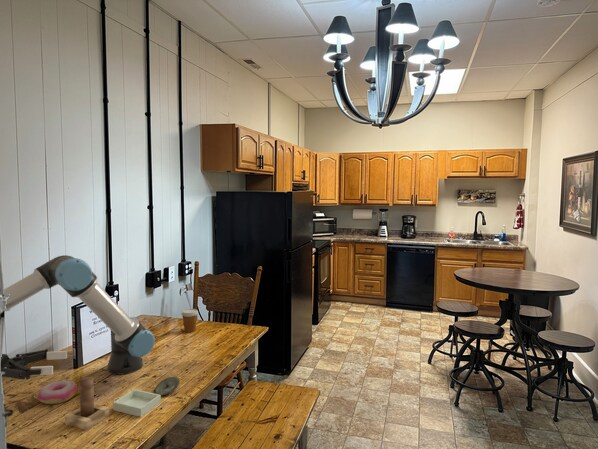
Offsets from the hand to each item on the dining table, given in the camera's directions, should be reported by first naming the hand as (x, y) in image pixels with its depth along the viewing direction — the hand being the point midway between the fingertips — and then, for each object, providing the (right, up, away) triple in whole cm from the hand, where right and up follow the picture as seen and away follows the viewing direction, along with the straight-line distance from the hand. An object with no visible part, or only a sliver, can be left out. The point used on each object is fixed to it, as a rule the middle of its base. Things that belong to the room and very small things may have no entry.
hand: (60, 362), depth 146 cm
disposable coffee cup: (+20, -15, +99) cm, 102 cm away
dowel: (+8, -22, +3) cm, 24 cm away
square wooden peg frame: (+8, -22, +3) cm, 24 cm away
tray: (+22, -21, +13) cm, 33 cm away
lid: (+30, -21, +26) cm, 44 cm away
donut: (-12, -21, +19) cm, 31 cm away
